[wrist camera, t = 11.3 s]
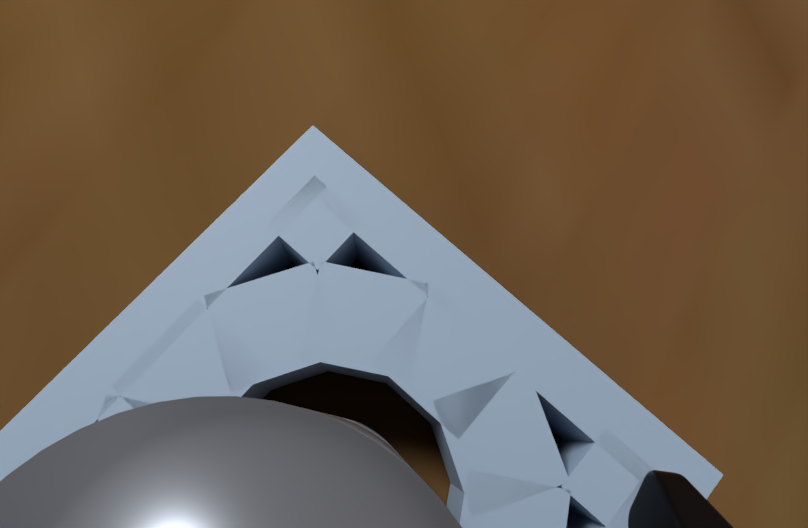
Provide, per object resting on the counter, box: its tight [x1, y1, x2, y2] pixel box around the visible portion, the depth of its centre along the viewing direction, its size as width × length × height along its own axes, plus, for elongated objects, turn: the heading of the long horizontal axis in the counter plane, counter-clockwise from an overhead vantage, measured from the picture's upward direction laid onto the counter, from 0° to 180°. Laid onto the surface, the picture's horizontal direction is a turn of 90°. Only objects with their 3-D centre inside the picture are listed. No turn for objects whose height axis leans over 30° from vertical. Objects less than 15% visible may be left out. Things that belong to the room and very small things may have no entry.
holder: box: [0, 126, 723, 528], centre depth 14 cm, size 12×12×2 cm
